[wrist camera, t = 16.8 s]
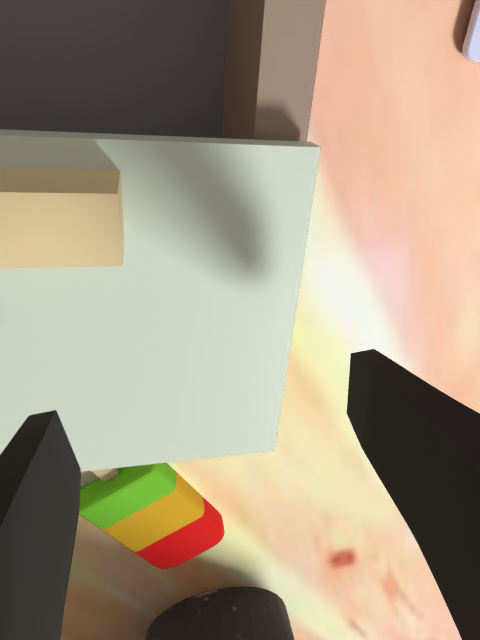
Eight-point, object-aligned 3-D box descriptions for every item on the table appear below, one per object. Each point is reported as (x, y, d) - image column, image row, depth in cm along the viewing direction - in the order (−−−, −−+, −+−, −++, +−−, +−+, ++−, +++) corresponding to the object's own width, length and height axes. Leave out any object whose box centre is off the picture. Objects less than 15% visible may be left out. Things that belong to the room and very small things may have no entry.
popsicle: (161, 550, 32) (163, 576, 30) (2, 433, 23) (-7, 460, 22) (227, 515, 31) (233, 539, 30) (88, 382, 23) (85, 406, 21)
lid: (310, 141, 12) (353, 165, 10) (269, 435, 18) (289, 495, 15) (-459, 111, 9) (-678, 134, 6) (-208, 483, 14) (-275, 568, 12)
